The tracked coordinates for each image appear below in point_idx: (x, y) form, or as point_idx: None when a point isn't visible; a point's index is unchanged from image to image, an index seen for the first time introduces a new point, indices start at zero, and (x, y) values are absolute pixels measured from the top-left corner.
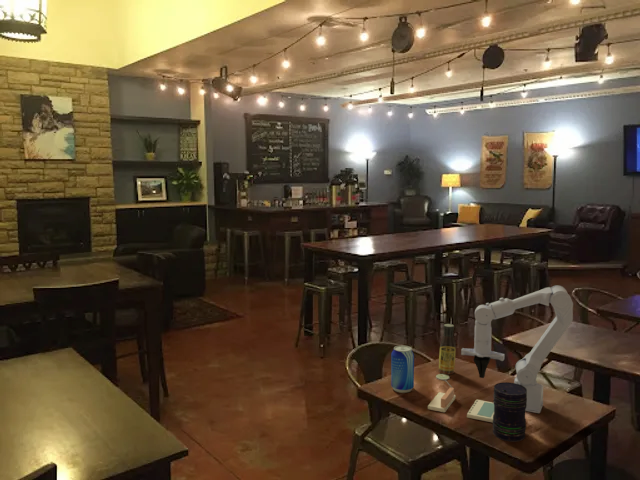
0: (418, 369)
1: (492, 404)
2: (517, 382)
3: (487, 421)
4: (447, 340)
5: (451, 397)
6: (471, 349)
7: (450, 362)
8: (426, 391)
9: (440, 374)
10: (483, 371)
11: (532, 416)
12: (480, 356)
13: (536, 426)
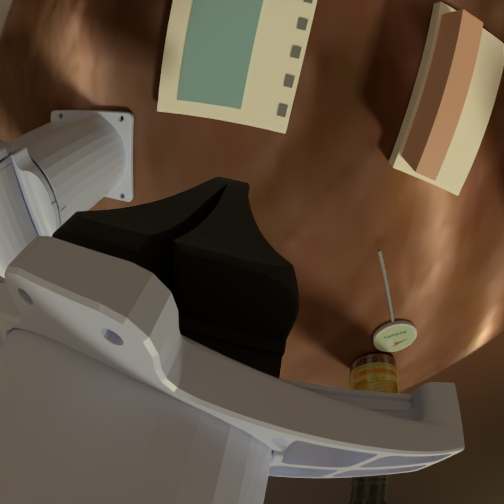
0: (443, 363)
1: (200, 89)
2: (32, 168)
3: None
4: None
5: (419, 114)
6: (309, 468)
7: (368, 390)
8: (484, 223)
9: (398, 348)
10: (192, 191)
11: (68, 79)
12: (60, 251)
13: (58, 12)
